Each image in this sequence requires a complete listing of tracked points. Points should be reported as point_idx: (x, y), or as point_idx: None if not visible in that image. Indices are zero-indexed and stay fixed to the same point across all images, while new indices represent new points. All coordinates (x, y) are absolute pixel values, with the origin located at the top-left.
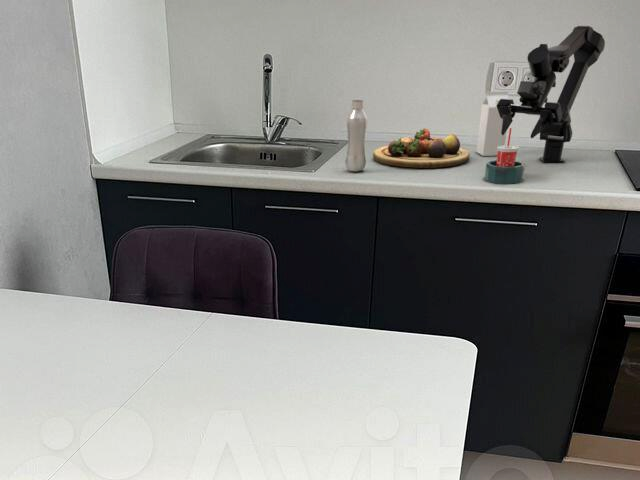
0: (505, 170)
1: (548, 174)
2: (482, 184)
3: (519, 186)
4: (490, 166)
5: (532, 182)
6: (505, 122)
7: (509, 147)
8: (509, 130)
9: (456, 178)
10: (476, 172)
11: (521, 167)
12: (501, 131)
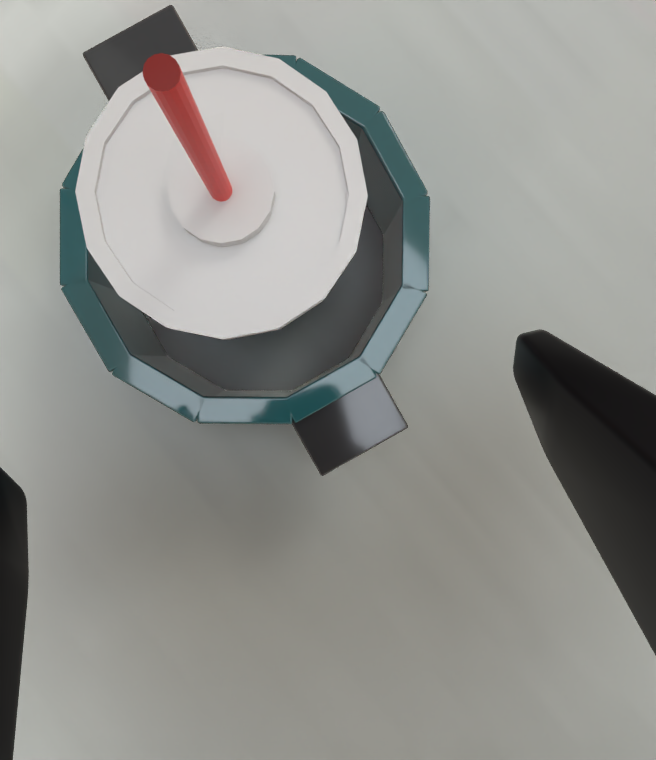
0: (84, 54)
1: (152, 696)
2: (257, 15)
3: (19, 181)
4: (282, 59)
5: (46, 369)
6: (654, 456)
7: (174, 167)
8: (186, 84)
9: (540, 22)
10: (585, 314)
11: (63, 267)
12: (557, 339)
